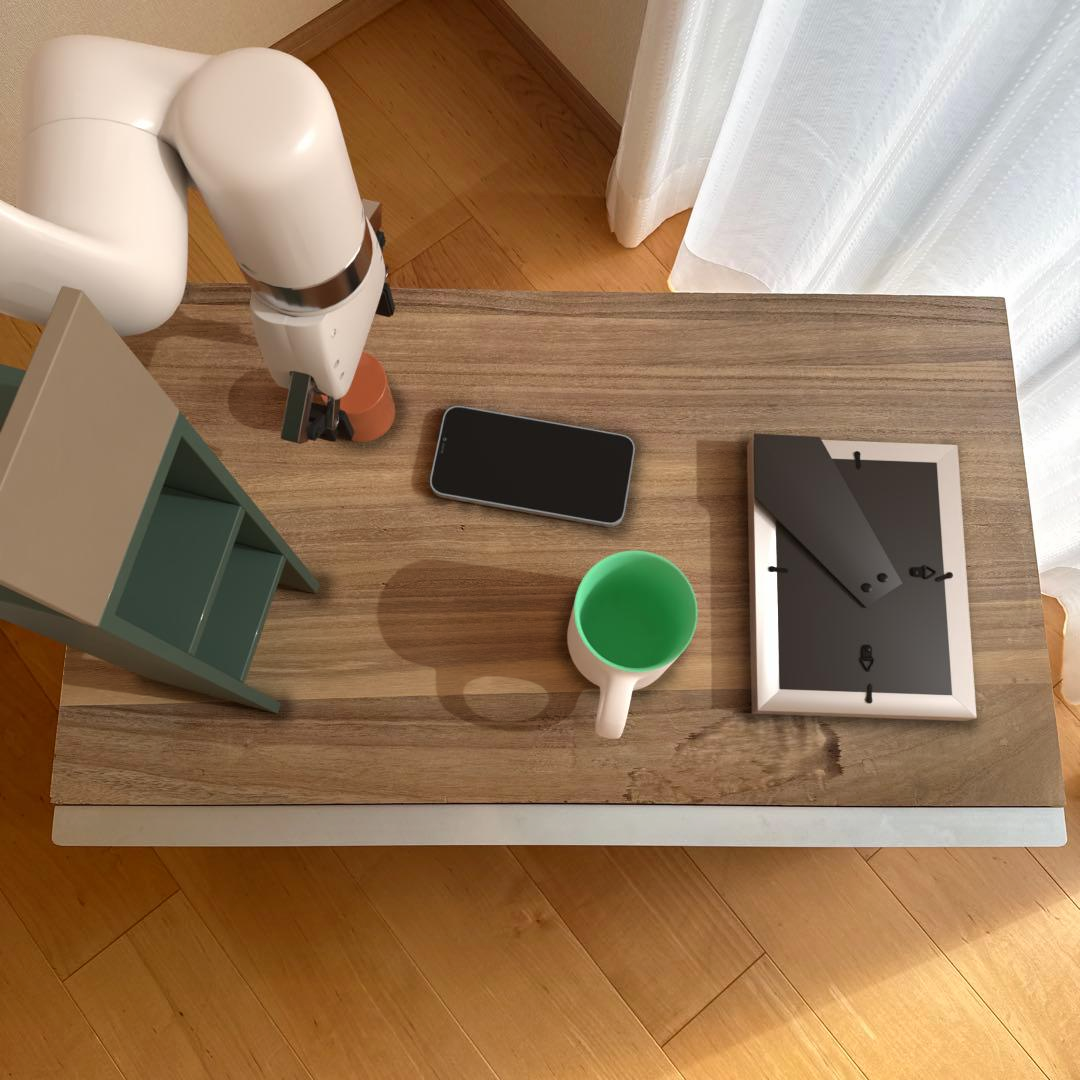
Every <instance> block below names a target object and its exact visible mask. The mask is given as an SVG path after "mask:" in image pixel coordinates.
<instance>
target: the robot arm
mask: <svg viewBox="0 0 1080 1080" xmlns="http://www.w3.org/2000/svg"><path fill="white" fill-rule="evenodd" d="M20 91H21V93H20V110H19V111H20V112H19V133H18V134H19V135H18V136H19V137H18V154H17V169H16V170H17V172H16V189H15V190H16V191H15V206H14V205H12V204H9V203H7V202H6V201H4V200H2V199H0V314H3V315H5V316H9V317H13V318H15V319H19V320H22V321H25V322H29V323H32V324H37V325H40V326H44V327H45V325H46V323H47V320H48V318H49V316H50V313H51V311H52V308H53V306H54V304H55V301H56V299H57V297H58V294H59V292H60V290H61V287H62V286H66V287H70V288H74V289H78V290H82V291H83V292H84V293H85V294H86V295H87V297H88V298H89V299H90V300H91V302H92V303H93V304H94V305H95V307H96V308H97V309H98V310H99V311H100V313H101V314H102V315H103V316H104V318H105V319H106V320H107V321H108V323H109V324H110V325H111V326H112V328H113V329H114V330H115V331H116V333H117V334H118V335H119V336H120V337H121V338H127V337H132V336H137V335H143V334H145V333H148V332H150V331H152V330H155V329H157V328H159V327H161V326H162V325H163V324H165V323H166V321H168V320H169V319H171V317H173V315H174V314H175V312H176V310H177V308H178V307H179V306H180V305H181V303H182V301H183V298H184V294H185V290H186V287H187V279H188V262H189V261H188V260H189V189H192V190H195V191H196V192H198V193H199V194H200V197H201V199H202V200H203V202H204V205H205V206H206V208H207V210H208V212H209V214H210V216H211V217H212V219H213V221H214V223H215V225H216V227H217V228H218V230H219V233H220V235H221V236H222V238H223V240H224V242H225V243H226V245H227V247H228V249H229V251H230V253H231V254H232V257H233V259H234V260H235V262H236V265H237V266H238V268H239V270H240V272H241V274H242V276H243V278H244V280H245V282H246V284H248V287H249V289H250V290H251V292H250V293H251V294H250V298H249V309H250V318H251V322H252V328H253V332H254V335H255V340H256V342H257V345H258V348H259V351H260V353H261V356H262V359H263V361H264V363H265V365H266V367H267V369H268V372H269V373H270V376H271V378H272V380H274V383H276V385H277V386H279V387H281V388H284V389H287V390H288V393H287V396H286V397H287V398H286V403H285V408H284V414H283V420H282V425H281V430H280V439H281V440H282V441H287V442H290V443H294V444H298V445H302V444H305V443H308V442H309V441H313V442H316V441H317V440H318V439H320V440H323V441H327V442H333V443H334V442H336V441H337V438H341V439H345V440H349V441H353V440H352V438H353V435H354V430H353V427H352V425H351V423H350V420H349V418H348V416H347V414H346V412H345V411H344V410H341V409H340V401H341V398H342V397H343V396H344V395H346V393H347V392H348V390H349V387H350V385H351V383H352V380H353V377H354V375H355V372H356V369H357V366H358V363H359V360H360V357H361V354H362V352H364V348H365V346H366V342H367V340H368V336H369V334H370V330H371V327H372V324H373V321H374V319H375V315H378V316H382V317H386V318H391V316H394V314H395V311H396V305H395V302H394V298H393V294H392V291H391V287H390V284H389V282H388V283H387V282H386V281H387V278H388V276H389V264H386V263H385V260H384V257H383V256H384V255H383V253H384V246H385V245H386V242H387V240H386V236H385V232H384V231H381V230H380V229H381V227H382V221H383V219H382V213H383V212H382V211H383V206H382V202H379V201H374V200H370V199H366V198H362V199H361V195H360V192H359V189H358V183H357V181H356V178H355V175H354V171H353V167H352V163H351V160H350V156H349V153H348V149H347V146H346V142H345V138H344V134H343V131H342V126H341V123H340V120H339V116H338V113H337V110H336V107H335V104H334V101H333V99H332V96H331V94H330V92H329V89H328V88H327V86H326V84H325V83H324V82H323V81H322V80H321V78H320V77H319V76H318V74H317V73H316V72H315V71H314V70H313V69H312V68H310V67H309V65H307V64H306V63H304V62H303V61H302V60H301V59H299V58H297V57H296V56H294V55H291V54H289V53H287V52H284V51H282V50H279V49H274V48H269V47H259V46H247V47H239V48H235V49H231V50H227V51H224V52H221V53H220V54H215V55H214V54H207V53H201V52H200V53H199V52H193V51H186V50H180V49H175V48H169V47H164V46H159V45H153V44H148V43H144V42H139V41H135V40H129V39H124V38H120V37H119V38H118V37H112V36H105V35H97V34H67V35H62V36H57V37H53V38H51V39H48V40H46V41H44V42H43V43H41V44H40V45H39V46H37V47H36V48H35V50H34V51H32V53H31V54H30V56H29V58H28V60H27V61H26V64H25V67H24V70H23V75H22V81H21V89H20ZM314 394H318V395H320V394H321V395H325V396H328V397H327V405H325V404H324V403H323V404H322V403H318V402H315V401H313V399H314V398H313V397H314Z"/></svg>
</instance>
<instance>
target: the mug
mask: <svg viewBox="0 0 1080 1080" xmlns="http://www.w3.org/2000/svg"><path fill="white" fill-rule="evenodd" d="M575 593H576V594H575V598H574V602H573V605H572V609H571V614H570V617H569V622H568V627H567V632H566V633H567V634H566V639H567V640H566V641H567V648H568V652H569V655H570V657H571V660H572V662H573V664H574V666H575V667H576V669H577V670H578V672H580V674H581V675H582V676H583V677H584V678H586V679H587V680H588V681H589V682H590V683H592V684H593V685H596V686H597V687H599V700H598V705H597V711H596V718H595V724H594V732H595V734H596V735H597V736H599V737H601V738H605V739H609V740H617V739H620V738H621V737H622V735H623V732H624V729H625V726H626V722H627V718H628V714H629V709H630V705H631V700H632V694H633V691H637V690H640V689H644V688H645V687H648V686H649V685H651V684H653V683H654V682H656V681H657V680H658V679H659V678H660V677H661V676H662V675H663V674H664V673H665V672H666V670H667V669H668V668H669V667H670V666H671V665H673V663H674V662H675V661H676V660H677V659H678V658H679V657H680V656H681V655H682V654H683V653H684V651H685V650H686V649H687V647H689V644H690V643H691V642H692V639H693V637H694V635H695V632H696V628H697V623H698V614H699V613H698V601H697V598H696V594H695V591H694V588H693V587H692V584H691V582H690V581H689V579H688V578H687V577H686V575H685V574H684V573H683V572H682V570H681V569H680V568H679V567H678V566H676V564H674V563H673V562H671V561H670V560H668V559H667V558H665V557H663V556H661V555H659V554H656V553H653V552H649V551H644V550H625V551H619V552H616V553H613V554H610V555H608V556H606V557H603V558H602V559H600V561H597V563H595V564H594V565H593V566H592V567H591V568H590V569H589V570H588V571H587V572H586V574H585V575H584V576H583V578H582V580H581V581H580V584H579V586H578V588H577V591H576V592H575Z"/></svg>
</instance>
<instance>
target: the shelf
mask: <svg viewBox="0 0 1080 1080" xmlns="http://www.w3.org/2000/svg"><path fill="white" fill-rule="evenodd" d="M27 365H28V366H27V368H26V369H22V368H18V367H14V366H10V365H6V364H2V363H0V619H1V620H4V621H6V622H9V623H11V624H13V625H16V626H18V627H21V628H23V629H26V630H29V631H31V632H32V633H36V634H38V635H40V636H43V637H46V638H48V639H50V640H53V641H55V642H58V643H60V644H63V645H64V646H67V647H69V648H72V649H75V650H77V651H79V652H82V653H83V654H87V655H90V656H92V657H94V658H97V659H99V660H101V661H103V662H107V663H109V664H112V665H114V666H117V667H118V668H121V669H124V670H126V671H129V672H131V673H134V674H136V675H139V676H141V677H143V678H146V679H148V680H152V681H156V682H160V683H163V684H167V685H170V686H174V687H177V688H182V689H185V690H188V691H192V692H196V693H200V694H203V695H208V696H211V697H214V698H218V699H222V700H225V701H229V702H232V703H235V704H240V705H244V706H246V707H247V706H248V707H251V708H254V709H259V710H262V711H265V712H270V713H271V714H272V713H273V714H276V715H277V714H279V711H280V708H281V705H282V703H281V702H280V701H277V700H275V699H274V698H272V697H270V696H268V695H266V694H264V693H262V692H260V691H259V690H257V689H255V688H253V687H252V686H249V685H248V684H245V683H246V680H247V677H248V674H249V671H250V668H251V665H252V662H253V659H254V656H255V653H256V651H257V648H258V645H259V642H260V639H261V635H262V633H263V630H264V627H265V624H266V621H267V618H268V616H269V612H270V609H271V606H272V603H273V600H274V597H275V594H276V591H277V588H278V585H282V586H286V587H289V588H292V589H293V588H294V589H297V590H300V591H304V592H308V593H310V594H311V593H313V594H318V592H319V589H320V586H321V584H320V582H319V581H318V580H317V579H316V578H315V576H314V574H312V572H310V570H309V569H308V568H307V566H306V565H305V564H304V562H302V560H301V559H300V558H299V556H298V555H297V554H296V553H295V552H294V551H293V549H292V548H291V547H290V545H289V544H288V543H287V542H286V540H285V539H284V537H282V535H281V534H280V532H278V531H277V529H276V528H275V527H274V526H273V524H272V523H271V521H269V519H268V517H266V515H265V514H264V513H263V512H262V511H261V509H260V508H259V506H257V505H256V503H255V502H254V501H253V499H252V498H251V497H250V496H249V495H248V493H247V492H246V491H245V490H244V488H243V487H242V486H241V485H240V483H239V482H238V481H237V480H236V478H235V477H234V476H233V475H232V473H231V472H230V471H229V470H228V469H227V467H226V466H225V465H224V463H222V461H221V460H220V459H219V457H218V456H217V455H216V454H215V452H214V451H213V450H212V448H211V447H210V446H209V445H208V443H206V441H205V440H204V439H203V437H202V436H201V435H200V434H199V432H198V431H197V430H196V429H195V427H194V426H193V425H192V424H191V422H190V421H189V420H188V419H187V418H186V417H185V415H184V414H183V413H182V412H181V411H180V409H179V408H178V406H176V404H175V403H174V402H173V400H172V399H171V398H170V396H169V395H168V394H167V393H166V392H165V391H164V389H163V388H162V387H161V385H160V384H159V383H158V382H157V381H156V379H155V378H154V376H152V374H151V373H150V372H149V370H148V369H146V367H145V365H144V364H142V362H141V361H140V360H139V358H138V357H137V356H136V355H135V353H134V352H133V351H132V349H130V348H129V346H128V345H127V344H126V342H125V341H124V340H123V338H122V337H120V336H119V335H118V334H117V333H116V331H115V330H114V329H113V328H112V326H111V325H110V324H109V323H108V321H107V320H106V319H105V318H104V316H103V315H102V314H101V313H100V311H99V310H98V309H97V308H96V307H95V305H94V304H93V303H92V302H91V300H90V299H89V298H88V297H87V295H86V294H85V293H84V292H83V291H82V290H78V289H74V288H70V287H66V286H62V287H61V290H60V292H59V294H58V297H57V299H56V301H55V304H54V306H53V308H52V311H51V313H50V316H49V318H48V320H47V323H46V325H45V326H44V327H43V330H42V332H41V335H40V337H39V340H38V342H37V344H36V346H35V349H34V351H33V354H32V356H31V359H30V361H29V363H28V364H27Z"/></svg>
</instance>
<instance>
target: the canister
mask: <svg viewBox="0 0 1080 1080" xmlns="http://www.w3.org/2000/svg"><path fill="white" fill-rule="evenodd" d="M386 373H387V372H386V371H385V368H384V366H383V365H382V363H381V362H380V361H379V360H378V359H377V358H376V357H375V356H374V355H372V354H370V353H367V352H366V351H365V352H364V351H362V354H361V357H360V360H359V363H358V366H357V369H356V372H355V375H354V377H353V380H352V383H351V385H350V387H349V390H348V392H347V393H346V395H344V396H343V397H342V398H341V401H340V409H341V410H344V411H345V412H346V414H347V416H348V418H349V420H350V423H351V425H352V427H353V430H354V435H353V438H352V440H351V441H353V442H356V443H357V442H358V443H366V442H371V441H375V440H377V439H379V438H380V437H382V436H384V435H385V434H386V433H387V432H389V430H390V428H391V427H392V425H393V423H394V420H395V417H396V406H395V401H394V398H393V394H392V391H391V388H390V384H389V381H388V377H387V374H386ZM319 395H320V398H321V400H322V402H323V405H327V397H328V396H325V395H321V394H319Z"/></svg>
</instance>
